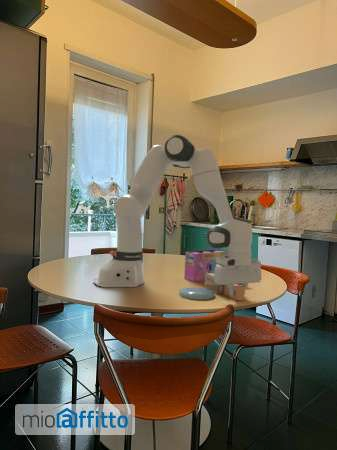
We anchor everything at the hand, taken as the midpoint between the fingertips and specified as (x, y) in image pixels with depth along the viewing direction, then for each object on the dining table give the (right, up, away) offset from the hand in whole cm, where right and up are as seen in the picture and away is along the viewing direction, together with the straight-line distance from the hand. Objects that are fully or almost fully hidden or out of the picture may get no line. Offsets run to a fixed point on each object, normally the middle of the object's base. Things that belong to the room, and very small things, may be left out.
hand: (237, 294), depth 124 cm
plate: (-16, -1, +3) cm, 16 cm away
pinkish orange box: (-1, -1, +3) cm, 4 cm away
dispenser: (-5, -1, +11) cm, 12 cm away
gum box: (-8, 0, +35) cm, 36 cm away
